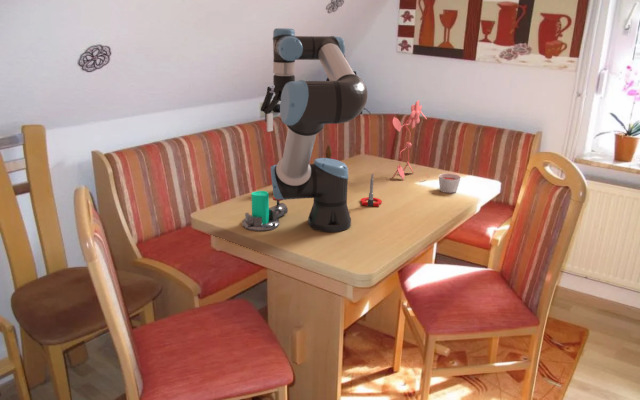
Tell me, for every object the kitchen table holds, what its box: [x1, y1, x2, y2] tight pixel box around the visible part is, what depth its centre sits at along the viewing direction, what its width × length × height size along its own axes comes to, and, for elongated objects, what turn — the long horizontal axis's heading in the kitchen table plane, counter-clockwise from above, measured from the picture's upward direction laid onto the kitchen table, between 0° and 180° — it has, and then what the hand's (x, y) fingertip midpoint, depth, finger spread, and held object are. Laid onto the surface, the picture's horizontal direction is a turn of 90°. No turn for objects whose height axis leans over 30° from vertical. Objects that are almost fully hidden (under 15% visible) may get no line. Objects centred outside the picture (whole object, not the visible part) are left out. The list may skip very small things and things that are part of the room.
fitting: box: [241, 195, 289, 232], centre depth 193 cm, size 13×19×8 cm
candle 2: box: [438, 172, 461, 194], centre depth 231 cm, size 9×9×6 cm
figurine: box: [386, 99, 429, 183], centre depth 243 cm, size 15×26×35 cm, turn 146°
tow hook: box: [360, 173, 383, 208], centre depth 214 cm, size 8×13×9 cm
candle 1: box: [251, 190, 270, 224], centre depth 190 cm, size 6×6×12 cm
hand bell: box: [325, 145, 333, 159], centre depth 239 cm, size 8×8×16 cm
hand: (284, 133), depth 199 cm, fingers open, 13 cm apart
